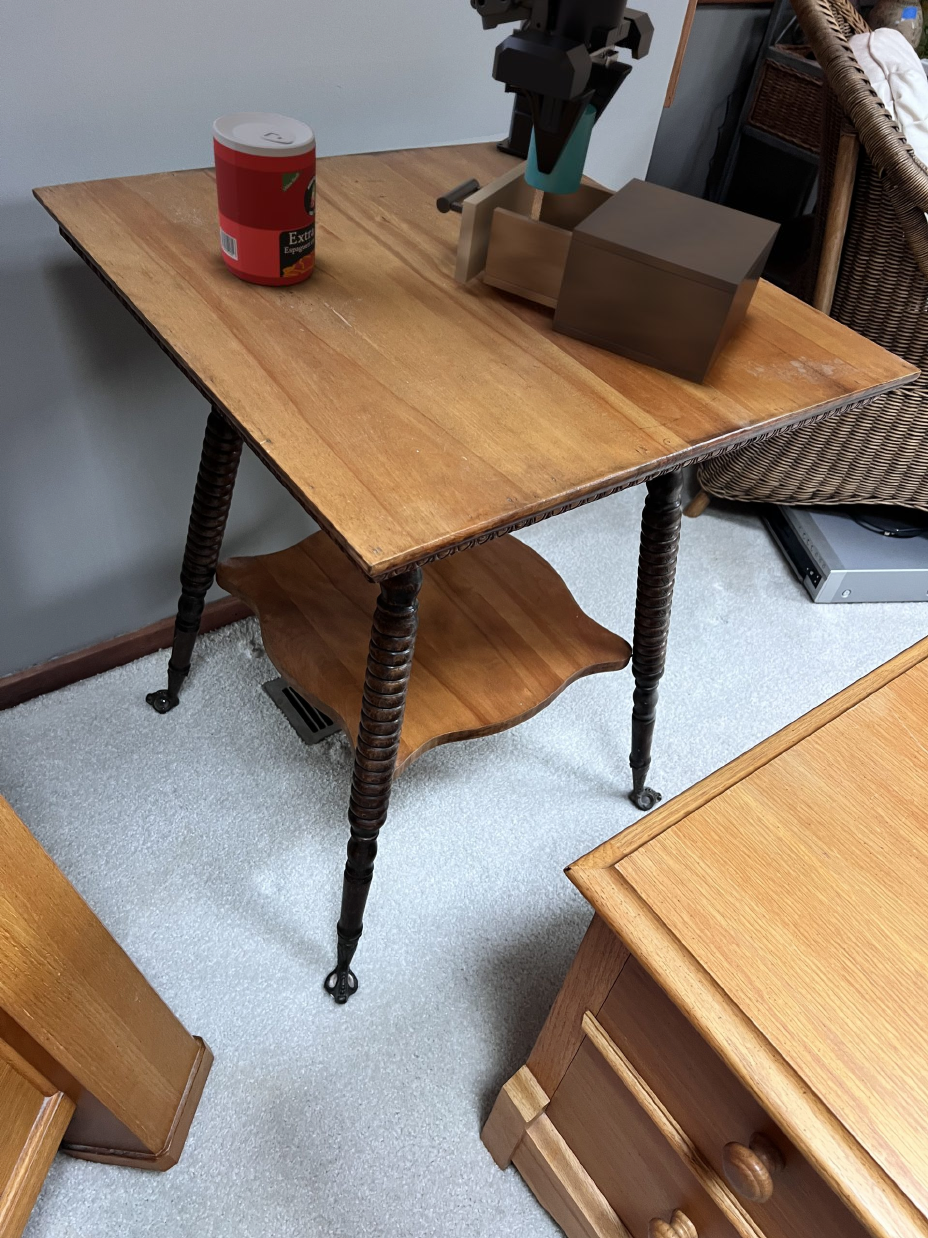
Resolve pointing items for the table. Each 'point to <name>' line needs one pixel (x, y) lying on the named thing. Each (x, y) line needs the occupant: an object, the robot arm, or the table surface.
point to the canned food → (266, 196)
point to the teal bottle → (563, 160)
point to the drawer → (518, 233)
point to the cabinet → (662, 277)
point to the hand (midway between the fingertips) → (556, 164)
